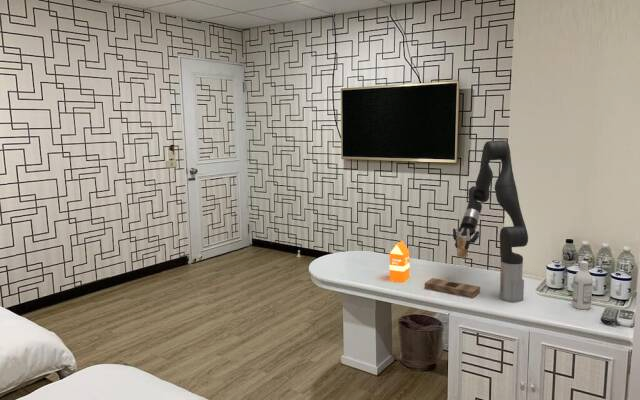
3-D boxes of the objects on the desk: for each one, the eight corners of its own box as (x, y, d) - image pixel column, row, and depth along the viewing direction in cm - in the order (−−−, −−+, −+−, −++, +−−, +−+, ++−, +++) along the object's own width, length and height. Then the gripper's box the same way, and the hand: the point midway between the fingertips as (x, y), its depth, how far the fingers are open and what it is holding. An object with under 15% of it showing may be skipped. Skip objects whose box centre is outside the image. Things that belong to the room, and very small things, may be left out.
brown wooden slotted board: (480, 292, 222) (480, 286, 222) (473, 298, 215) (473, 292, 215) (432, 283, 237) (432, 278, 236) (424, 288, 230) (424, 282, 229)
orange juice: (409, 278, 247) (409, 240, 244) (403, 283, 239) (403, 244, 236) (395, 276, 251) (395, 239, 248) (389, 280, 243) (389, 243, 240)
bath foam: (592, 306, 202) (595, 261, 199) (588, 311, 197) (591, 265, 194) (575, 302, 207) (577, 258, 204) (570, 307, 202) (572, 262, 199)
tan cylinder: (467, 255, 234) (468, 236, 233) (464, 257, 231) (465, 237, 230) (460, 254, 237) (460, 235, 235) (456, 256, 234) (457, 236, 232)
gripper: (455, 214, 241) (445, 242, 234) (482, 216, 233) (473, 245, 225) (458, 222, 246) (449, 250, 238) (486, 225, 237) (477, 254, 230)
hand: (461, 247), depth 232 cm, fingers closed on tan cylinder, 4 cm apart
